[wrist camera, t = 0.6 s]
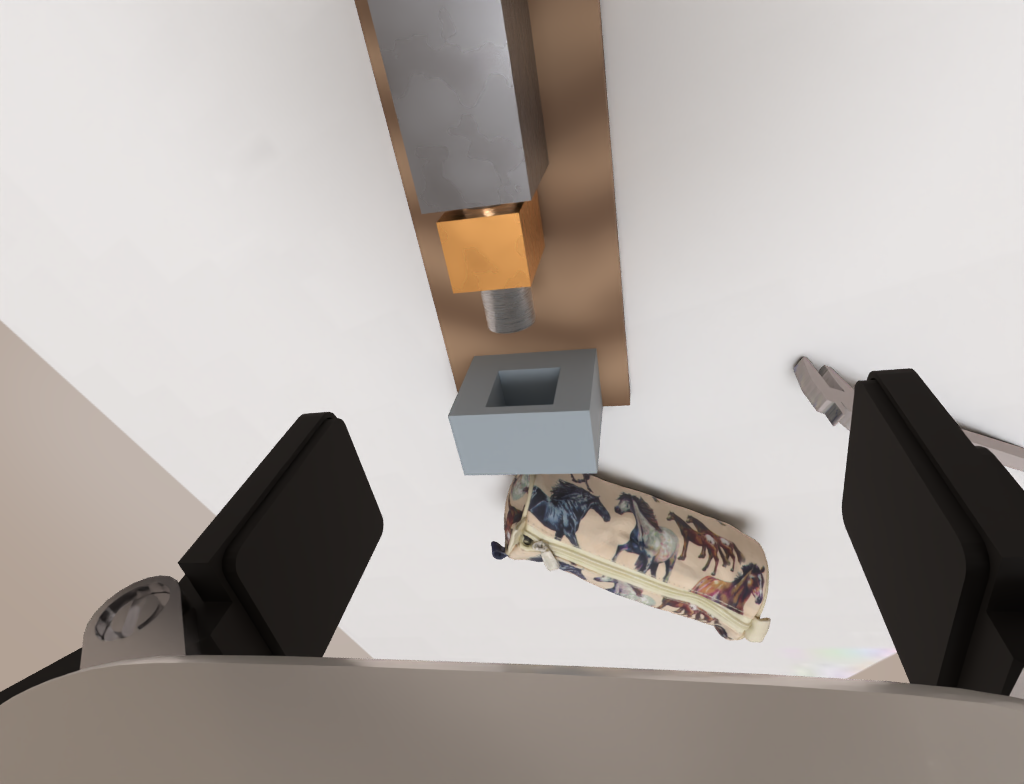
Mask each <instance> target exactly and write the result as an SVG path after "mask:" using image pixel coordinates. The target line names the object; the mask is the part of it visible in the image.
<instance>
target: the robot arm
mask: <svg viewBox="0 0 1024 784" xmlns="http://www.w3.org/2000/svg"><path fill="white" fill-rule="evenodd" d="M842 515H843V521H844V524H845V527H846V530H847V532H848V535H849V537H850V540H851V542H852V544H853V547H854V549H855V552H856V554H857V556H858V559H859V561H860V564H861V566H862V568H863V571H864V573H865V576H866V578H867V581H868V583H869V585H870V588H871V590H872V593H873V595H874V597H875V600H876V602H877V605H878V607H879V609H880V612H881V614H882V617H883V619H884V622H885V624H886V626H887V629H888V631H889V634H890V636H891V638H892V641H893V643H894V646H895V648H896V650H897V653H898V655H899V658H900V660H901V663H902V665H903V667H904V669H905V672H906V675H907V677H908V679H909V682H910V683H900V682H890V681H872V680H856V679H855V680H854V679H838V678H821V677H804V676H787V675H769V674H748V673H725V672H701V671H678V670H654V669H631V668H607V667H583V666H557V665H531V664H504V663H477V662H449V661H422V660H392V659H360V658H358V659H357V658H326V657H323V655H324V653H325V651H326V649H327V646H328V645H329V642H330V641H331V638H332V636H333V634H334V632H335V630H336V628H337V626H338V624H339V622H340V620H341V618H342V616H343V614H344V612H345V610H346V608H347V605H348V603H349V601H350V599H351V597H352V595H353V593H354V591H355V589H356V587H357V585H358V583H359V581H360V579H361V577H362V575H363V572H364V570H365V568H366V566H367V564H368V562H369V560H370V558H371V556H372V554H373V552H374V550H375V548H376V546H377V544H378V542H379V539H380V537H381V535H382V532H383V518H382V515H381V512H380V510H379V507H378V505H377V502H376V500H375V497H374V495H373V492H372V490H371V487H370V485H369V482H368V480H367V477H366V475H365V472H364V470H363V467H362V465H361V462H360V460H359V457H358V455H357V452H356V450H355V447H354V445H353V442H352V440H351V437H350V435H349V432H348V430H347V427H346V425H345V423H344V421H343V420H342V419H339V418H337V417H336V416H335V415H334V414H333V413H331V412H322V413H309V414H302V415H301V416H300V417H299V418H298V419H297V420H296V421H295V423H294V424H293V425H292V426H291V427H290V429H289V430H288V431H287V432H286V433H285V435H284V436H283V437H282V438H281V439H280V441H279V442H278V443H277V444H276V445H275V447H274V448H273V449H272V450H271V451H270V453H269V454H268V455H267V456H266V457H265V459H264V460H263V461H262V462H261V463H260V465H259V466H258V467H257V468H256V469H255V471H254V472H253V473H252V474H251V475H250V477H249V478H248V479H247V480H246V481H245V483H244V484H243V485H242V486H241V487H240V489H239V490H238V491H237V492H236V493H235V495H234V496H233V497H232V498H231V499H230V501H229V502H228V503H227V504H226V505H225V507H224V508H223V509H222V510H221V511H220V513H219V514H218V515H217V516H216V517H215V519H214V520H213V521H212V522H211V524H210V525H209V526H208V527H207V528H206V529H205V531H204V532H203V533H202V534H201V535H200V537H199V538H198V539H197V540H196V542H195V543H194V544H193V545H192V546H191V547H190V549H189V550H188V551H187V552H186V553H185V555H184V556H183V557H182V558H181V560H180V561H179V562H178V564H179V565H180V567H181V568H182V570H183V571H184V573H185V576H184V577H183V578H182V579H181V580H180V582H179V583H178V581H177V580H175V579H174V578H172V577H170V576H154V577H149V578H146V579H143V580H141V581H138V582H135V583H133V584H131V585H129V586H128V587H126V588H124V589H122V590H121V591H119V592H118V593H116V594H115V595H114V596H112V597H111V598H110V599H108V600H107V601H106V602H105V603H104V604H103V605H102V606H101V607H100V608H99V609H98V610H97V611H96V612H95V613H94V615H93V616H92V618H91V620H90V621H89V622H88V624H87V627H86V629H85V632H84V637H83V647H82V648H80V649H78V650H77V651H75V652H73V653H71V654H69V655H67V656H65V657H64V658H62V659H60V660H58V661H56V662H54V663H53V664H51V665H49V666H47V667H45V668H43V669H42V670H40V671H38V672H36V673H35V674H32V675H31V676H29V677H27V678H25V679H23V680H22V681H20V682H18V683H16V684H14V685H12V686H10V687H9V688H7V689H5V690H3V691H2V692H0V784H1024V490H1023V489H1022V488H1021V487H1020V485H1019V484H1018V483H1017V482H1016V480H1015V479H1014V478H1013V477H1012V476H1011V474H1010V473H1009V472H1008V471H1007V470H1006V468H1005V467H1004V466H1003V465H1002V463H1001V462H1000V461H999V460H998V459H997V457H996V456H995V455H994V454H993V453H992V452H991V451H990V450H989V449H988V448H985V447H982V446H974V445H973V443H972V442H971V441H970V440H969V438H968V437H967V436H966V435H965V433H964V432H963V431H962V429H961V428H960V427H959V426H958V424H957V423H956V422H955V421H954V419H953V418H952V417H951V416H950V414H949V413H948V412H947V411H946V409H945V408H944V407H943V406H942V404H941V403H940V402H939V400H938V399H937V398H936V397H935V395H934V394H933V393H932V392H931V390H930V389H929V388H928V387H927V385H926V384H925V383H924V382H923V380H922V379H921V378H920V377H919V375H918V374H917V373H916V372H915V371H914V370H913V369H910V368H908V369H895V370H881V371H872V372H870V373H869V375H868V378H867V380H865V381H858V382H857V383H856V385H855V390H854V399H853V408H852V417H851V427H850V436H849V445H848V454H847V463H846V472H845V481H844V490H843V499H842Z"/></svg>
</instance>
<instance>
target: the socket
mask: <svg viewBox="0 0 1024 784" xmlns="http://www.w3.org/2000/svg"><path fill="white" fill-rule="evenodd" d="M602 409H603V404H602V395H601V386H600V377H599V367H598V358H597V349H596V348H594V349H578V350H563V351H547V352H531V353H515V354H500V355H484V356H474V358H473V360H472V362H471V364H470V367H469V369H468V371H467V374H466V376H465V378H464V381H463V383H462V385H461V387H460V390H459V392H458V394H457V397H456V399H455V401H454V403H453V406H452V408H451V410H450V413H449V415H448V418H449V421H450V425H451V429H452V432H453V436H454V439H455V443H456V446H457V450H458V454H459V457H460V461H461V464H462V468H463V471H464V475H517V474H587V473H597V470H598V458H599V445H600V433H601V421H602Z"/></svg>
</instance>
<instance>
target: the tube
mask: <svg viewBox="0 0 1024 784" xmlns="http://www.w3.org/2000/svg"><path fill="white" fill-rule="evenodd" d="M436 224H437V229H438V233H439V237H440V241H441V245H442V249H443V253H444V257H445V262H446V266H447V270H448V274H449V278H450V282H451V286H452V290H453V294H454V293H465V292H476V291H480V292H481V297H482V301H483V306H484V310H485V315H486V320H487V324H488V328H489V329H490V330H491V331H492V332H495V333H501V334H507V333H514V332H519V331H522V330H524V329H526V328H528V327H530V326H531V325H532V324H533V323H534V322H535V320H536V316H535V310H534V304H533V298H532V292H531V285H532V282H533V279H534V276H535V274H536V271H537V268H538V265H539V262H540V259H541V256H542V254H543V251H544V248H545V243H544V236H543V229H542V222H541V215H540V208H539V201H538V195H537V190H536V192H535V194H534V196H533V198H532V200H531V201H523V202H515V203H507V204H499V205H491V206H483V207H475V208H467V209H459V210H451V211H446V212H445V213H444V214H443V215H442V216H441V217H440V219H439V220H438V221H437V222H436Z"/></svg>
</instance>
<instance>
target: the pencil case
mask: <svg viewBox="0 0 1024 784" xmlns="http://www.w3.org/2000/svg"><path fill="white" fill-rule="evenodd" d="M504 530H505V547H502V546H501V545H500V544H499V543H497V542H494V541H493V542H491V546H492V555H493V557H494V558H496V559H503V558H505V557H506V556H508V557H509V558H511V559H514V560H531V561H536V562H544V564H545V566H546V568H547V569H548V570H549V571H552V570H556V569H561V570H563V571H566V572H569V573H571V574H574V575H576V576H578V577H580V578H581V579H583V580H585V581H587V582H589V583H592V584H594V585H596V586H598V587H600V588H603V589H605V590H608V591H610V592H612V593H615V594H617V595H620V596H623V597H626V598H629V599H632V600H635V601H638V602H640V603H643V604H646V605H649V606H651V607H654V608H658V609H661V610H666V611H669V612H671V613H674V614H678V615H681V616H684V617H688V618H691V619H695V620H697V621H700V622H703V623H706V624H709V625H713V626H714V627H715V629H716V630H717V631H718V633H719V634H720V635H721V636H722V637H724V638H725V639H727V640H741V639H743V638H744V637H745V638H746V639H747V640H748V641H750V642H759V643H760V642H762V640H763V639H764V637H765V635H766V633H767V631H768V629H769V625H770V619H769V618H762V619H760V615H761V613H762V610H763V608H764V605H765V602H766V598H767V593H768V583H769V571H768V564H767V560H766V557H765V554H764V551H763V549H762V547H761V545H760V544H759V543H758V542H757V541H756V540H754V539H752V538H750V537H749V536H747V535H745V534H743V533H741V532H740V531H739V530H738V529H736V528H735V527H733V526H731V525H729V524H727V523H725V522H722V521H719V520H716V519H714V518H711V517H707V516H704V515H702V514H699V513H697V512H695V511H692V510H689V509H687V508H684V507H681V506H677V505H674V504H671V503H668V502H665V501H663V500H661V499H658V498H656V497H654V496H651V495H648V494H645V493H643V492H640V491H636V490H633V489H629V488H626V487H622V486H619V485H617V484H613V483H610V482H607V481H604V480H602V479H599V478H597V477H595V476H592V475H590V474H517V475H516V476H515V478H514V480H513V482H512V484H511V486H510V489H509V492H508V495H507V499H506V504H505V513H504Z"/></svg>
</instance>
